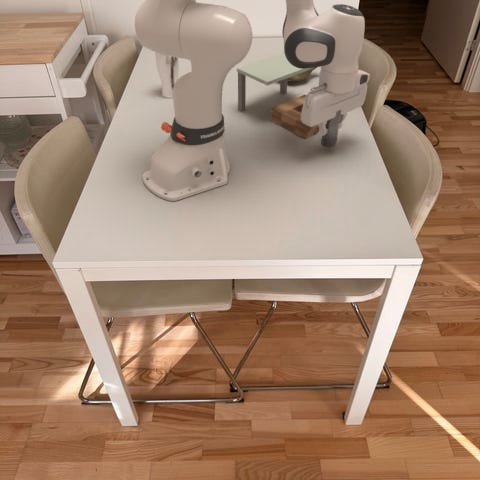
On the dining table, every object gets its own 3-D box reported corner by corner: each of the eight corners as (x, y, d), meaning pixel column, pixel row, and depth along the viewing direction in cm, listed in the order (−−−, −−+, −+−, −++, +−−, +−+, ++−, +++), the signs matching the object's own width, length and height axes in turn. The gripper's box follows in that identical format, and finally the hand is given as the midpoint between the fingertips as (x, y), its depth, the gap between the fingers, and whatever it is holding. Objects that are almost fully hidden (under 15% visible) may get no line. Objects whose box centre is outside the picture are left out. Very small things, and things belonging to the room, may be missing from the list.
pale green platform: (266, 125, 134) (267, 82, 125) (237, 109, 141) (236, 68, 132) (312, 104, 143) (316, 63, 134) (283, 91, 150) (285, 51, 142)
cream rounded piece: (179, 88, 153) (174, 42, 143) (183, 97, 148) (179, 49, 138) (158, 91, 151) (152, 44, 141) (162, 100, 146) (156, 52, 136)
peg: (328, 148, 120) (334, 113, 113) (317, 142, 122) (322, 107, 115) (339, 144, 122) (344, 108, 115) (328, 138, 124) (333, 103, 117)
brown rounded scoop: (268, 72, 162) (269, 43, 156) (315, 69, 164) (318, 41, 157) (275, 88, 152) (277, 58, 146) (326, 85, 154) (330, 55, 147)
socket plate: (305, 138, 128) (306, 125, 125) (271, 120, 136) (271, 108, 133) (338, 122, 134) (340, 110, 132) (303, 106, 142) (304, 94, 140)
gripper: (317, 94, 104) (310, 148, 113) (374, 73, 113) (364, 124, 122) (297, 85, 107) (293, 138, 116) (355, 66, 117) (346, 116, 126)
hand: (330, 131), depth 119 cm, fingers closed on peg, 4 cm apart
